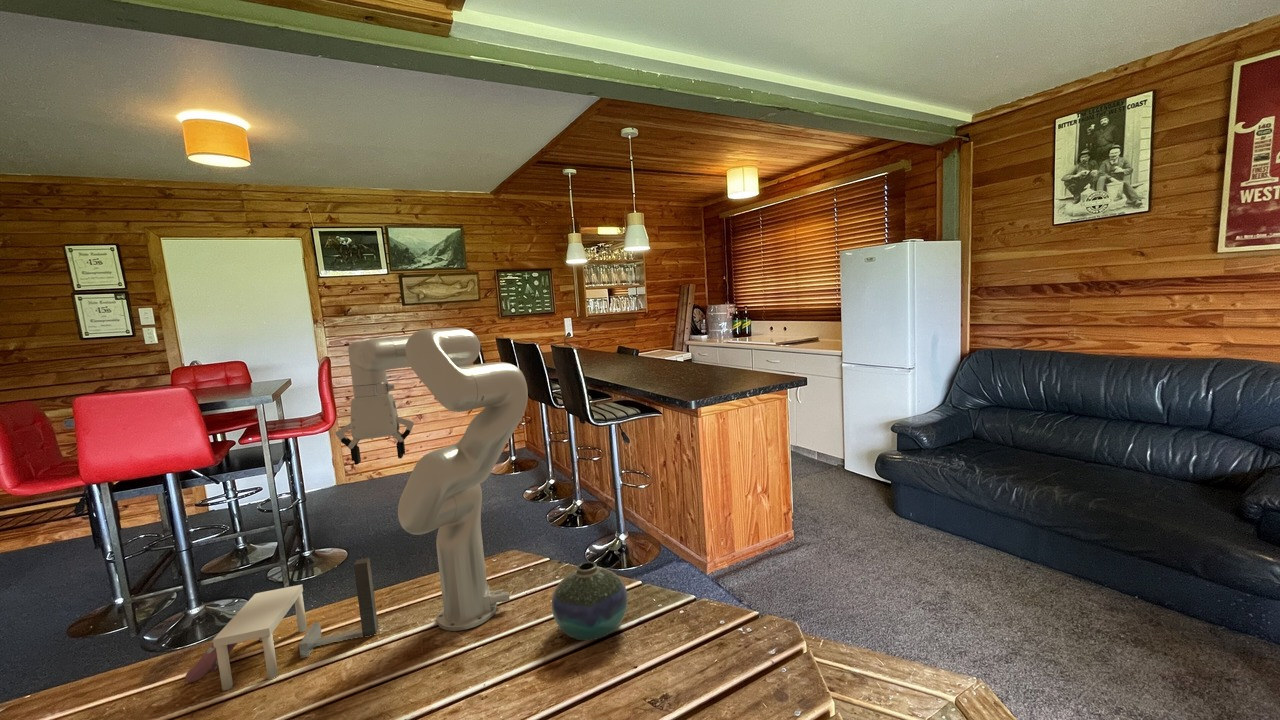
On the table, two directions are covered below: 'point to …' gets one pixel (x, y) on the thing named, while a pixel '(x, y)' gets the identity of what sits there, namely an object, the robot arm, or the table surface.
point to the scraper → (365, 607)
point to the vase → (589, 602)
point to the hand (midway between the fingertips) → (379, 460)
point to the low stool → (259, 627)
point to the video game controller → (206, 663)
